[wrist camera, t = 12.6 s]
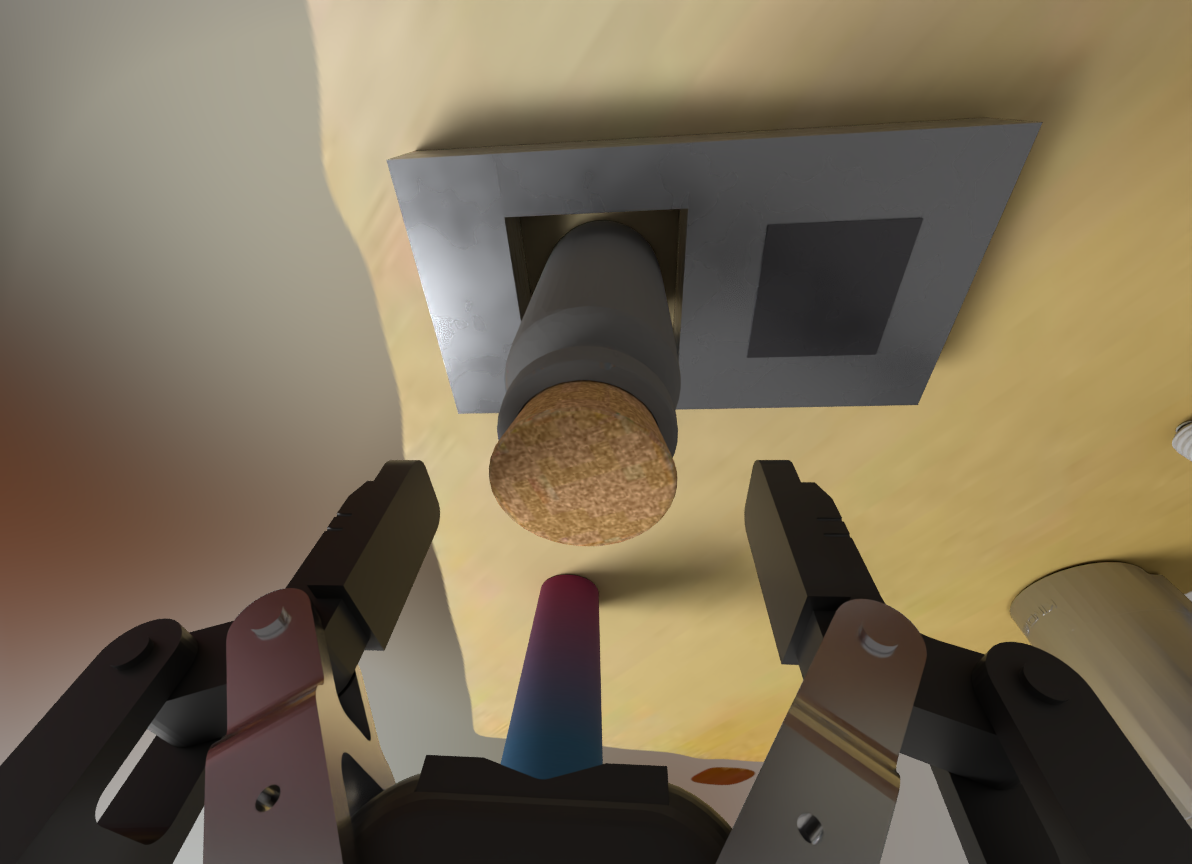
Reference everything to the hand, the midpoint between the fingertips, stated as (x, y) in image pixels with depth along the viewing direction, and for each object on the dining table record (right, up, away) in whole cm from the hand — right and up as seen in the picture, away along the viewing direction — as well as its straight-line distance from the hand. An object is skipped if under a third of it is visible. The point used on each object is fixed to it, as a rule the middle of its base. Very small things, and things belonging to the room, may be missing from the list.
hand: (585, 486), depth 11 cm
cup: (-2, -12, +29) cm, 31 cm away
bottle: (+1, +9, +12) cm, 15 cm away
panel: (+4, +9, +12) cm, 16 cm away
